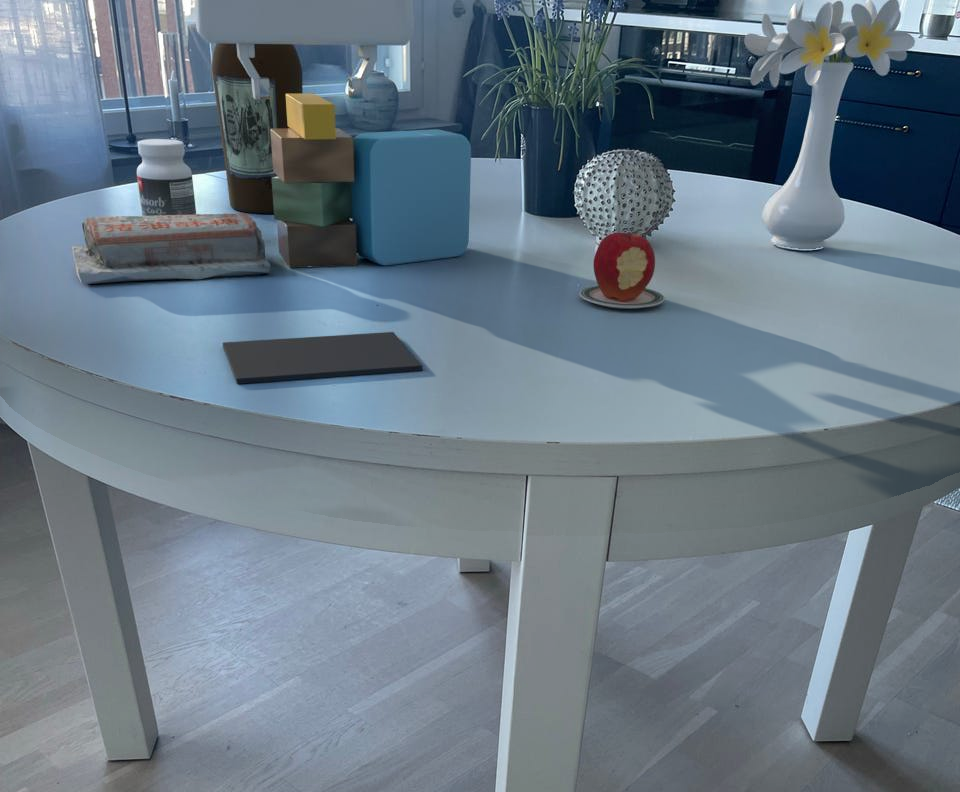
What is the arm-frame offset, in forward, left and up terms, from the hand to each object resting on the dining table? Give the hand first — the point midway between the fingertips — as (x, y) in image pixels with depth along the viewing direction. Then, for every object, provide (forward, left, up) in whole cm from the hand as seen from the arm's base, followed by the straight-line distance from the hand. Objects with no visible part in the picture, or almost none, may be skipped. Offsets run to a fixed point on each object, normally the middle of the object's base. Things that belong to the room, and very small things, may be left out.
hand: (310, 98), depth 99 cm
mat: (-6, -33, -15) cm, 37 cm away
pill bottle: (-14, +11, -15) cm, 23 cm away
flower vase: (+56, -3, -15) cm, 58 cm away
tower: (0, 0, -15) cm, 15 cm away
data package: (+10, -1, -15) cm, 18 cm away
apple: (+25, -22, -15) cm, 36 cm away
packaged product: (-15, -2, -15) cm, 22 cm away
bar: (0, 0, -3) cm, 3 cm away
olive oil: (-1, +29, -15) cm, 33 cm away
